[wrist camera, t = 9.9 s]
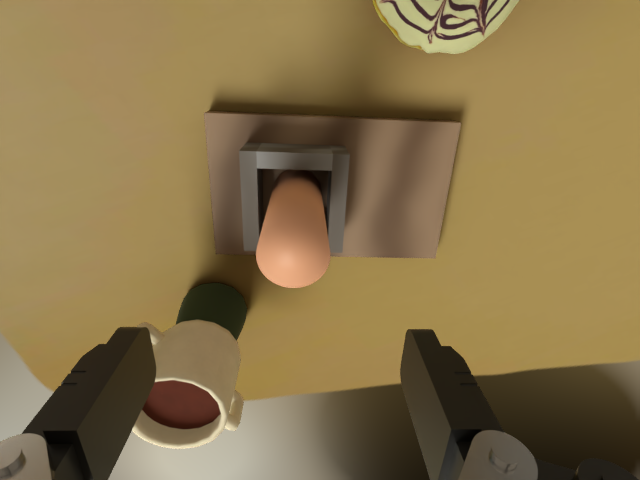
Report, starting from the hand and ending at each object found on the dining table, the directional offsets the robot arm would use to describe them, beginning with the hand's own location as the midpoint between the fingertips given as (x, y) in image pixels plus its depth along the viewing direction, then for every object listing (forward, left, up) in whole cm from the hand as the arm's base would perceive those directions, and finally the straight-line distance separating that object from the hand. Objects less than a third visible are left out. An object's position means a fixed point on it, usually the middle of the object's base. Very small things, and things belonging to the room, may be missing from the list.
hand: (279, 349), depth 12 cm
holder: (-3, +1, -22) cm, 22 cm away
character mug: (+8, +14, -22) cm, 27 cm away
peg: (0, +1, -21) cm, 21 cm away
